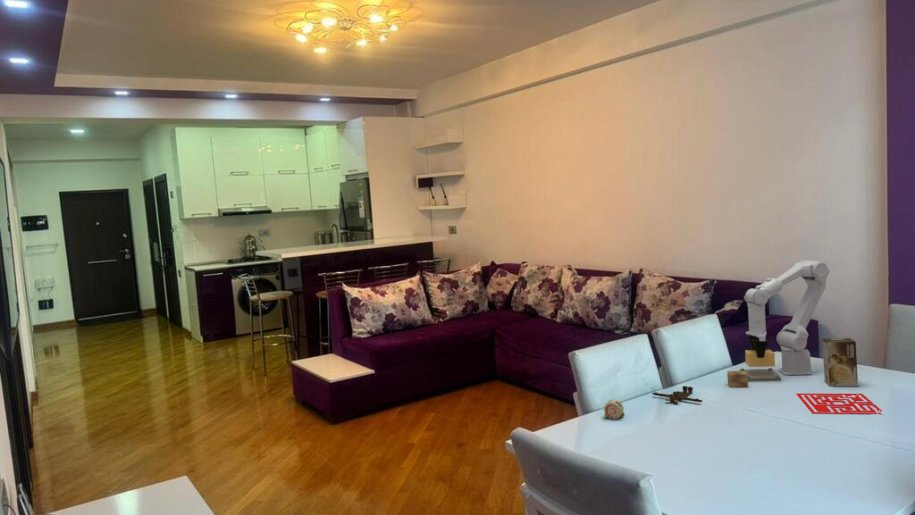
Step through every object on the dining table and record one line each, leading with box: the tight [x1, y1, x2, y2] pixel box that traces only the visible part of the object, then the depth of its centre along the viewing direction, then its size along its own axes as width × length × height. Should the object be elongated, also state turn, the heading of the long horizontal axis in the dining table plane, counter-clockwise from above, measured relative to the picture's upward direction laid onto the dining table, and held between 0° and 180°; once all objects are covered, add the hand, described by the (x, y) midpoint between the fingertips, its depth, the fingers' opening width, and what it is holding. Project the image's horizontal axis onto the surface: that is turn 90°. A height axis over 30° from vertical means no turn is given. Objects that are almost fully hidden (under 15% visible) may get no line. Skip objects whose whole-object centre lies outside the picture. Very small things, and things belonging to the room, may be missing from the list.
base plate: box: [738, 367, 782, 383], centre depth 235 cm, size 12×12×2 cm
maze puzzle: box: [795, 392, 883, 415], centre depth 200 cm, size 20×20×1 cm
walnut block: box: [726, 370, 749, 389], centre depth 226 cm, size 6×4×5 cm
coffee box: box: [821, 337, 859, 387], centre depth 218 cm, size 9×6×16 cm
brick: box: [744, 349, 776, 368], centre depth 234 cm, size 9×6×5 cm, turn 77°
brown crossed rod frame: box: [652, 385, 703, 404], centre depth 218 cm, size 18×4×14 cm
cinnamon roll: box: [603, 398, 625, 420], centre depth 204 cm, size 4×6×6 cm
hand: (758, 355), depth 234 cm, fingers closed on brick, 5 cm apart
